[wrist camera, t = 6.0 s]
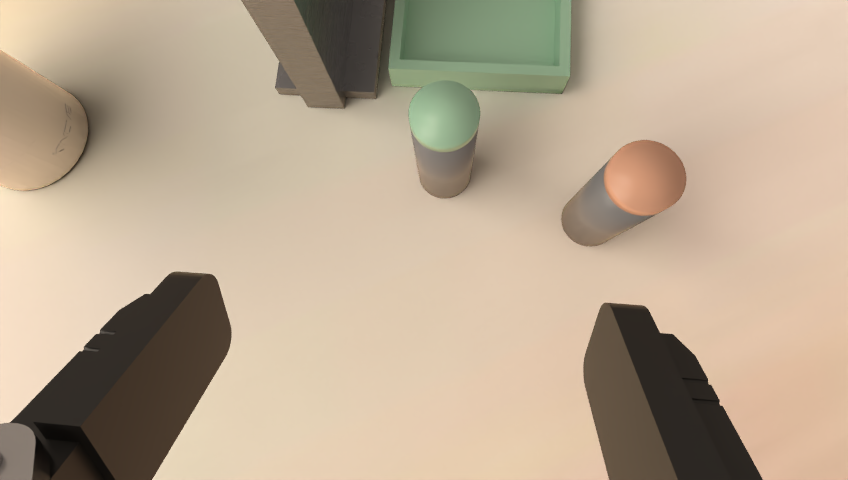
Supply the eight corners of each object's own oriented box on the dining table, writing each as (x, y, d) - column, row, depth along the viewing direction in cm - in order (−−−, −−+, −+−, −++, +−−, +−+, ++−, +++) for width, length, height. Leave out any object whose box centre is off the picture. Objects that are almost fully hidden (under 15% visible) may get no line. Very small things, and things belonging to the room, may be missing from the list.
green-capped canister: (417, 196, 35) (405, 144, 25) (421, 148, 35) (411, 78, 26) (469, 199, 34) (478, 148, 24) (471, 150, 35) (482, 81, 25)
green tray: (391, 85, 36) (388, 68, 34) (406, -57, 39) (403, -83, 37) (561, 93, 36) (570, 76, 33) (564, -53, 38) (572, -79, 36)
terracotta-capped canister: (560, 244, 33) (608, 209, 24) (561, 192, 34) (608, 138, 24) (615, 248, 33) (687, 214, 23) (615, 196, 34) (684, 142, 24)
